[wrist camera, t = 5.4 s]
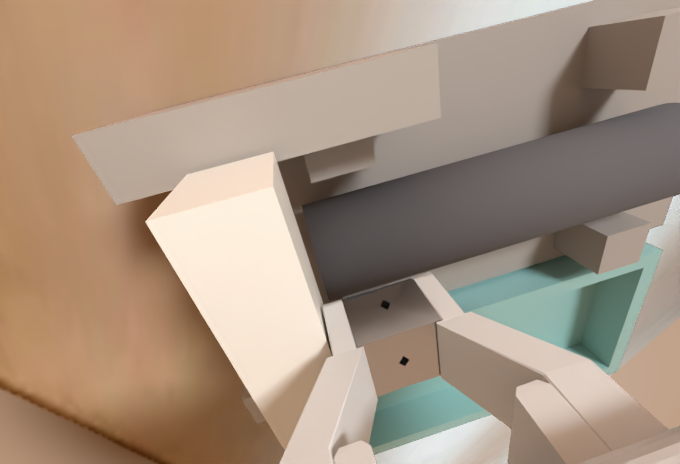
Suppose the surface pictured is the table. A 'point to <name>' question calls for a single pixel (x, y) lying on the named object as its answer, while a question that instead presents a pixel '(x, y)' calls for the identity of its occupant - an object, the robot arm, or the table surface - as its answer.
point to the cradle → (424, 123)
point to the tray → (533, 319)
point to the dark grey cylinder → (494, 200)
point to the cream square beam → (249, 280)
